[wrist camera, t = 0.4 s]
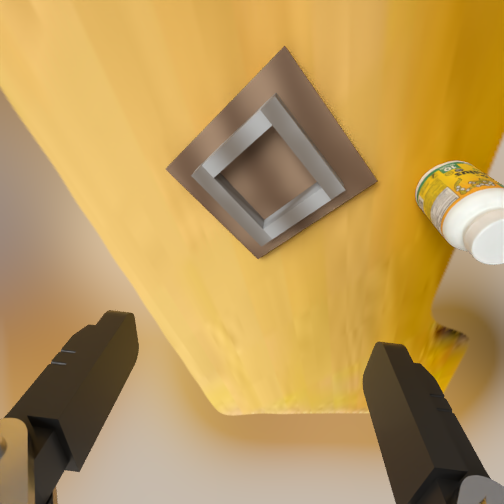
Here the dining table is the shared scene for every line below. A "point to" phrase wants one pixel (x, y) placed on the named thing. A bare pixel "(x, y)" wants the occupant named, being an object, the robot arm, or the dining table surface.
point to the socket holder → (272, 160)
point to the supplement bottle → (465, 209)
